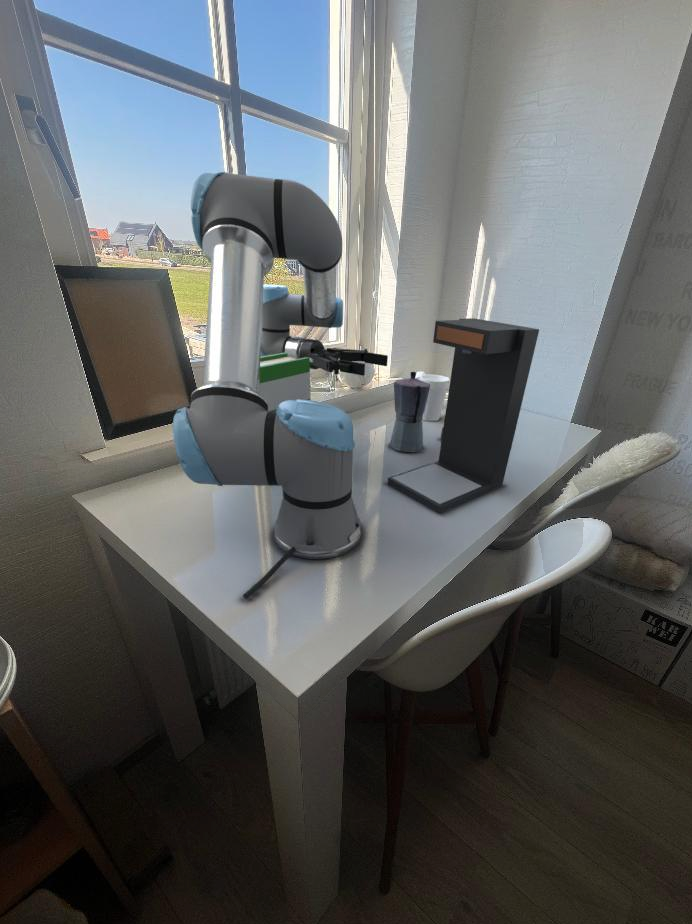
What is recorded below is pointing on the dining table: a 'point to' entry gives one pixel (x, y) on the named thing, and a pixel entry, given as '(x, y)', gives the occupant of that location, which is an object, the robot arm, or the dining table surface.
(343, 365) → the robot arm
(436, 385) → the foam cup
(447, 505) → the coffee maker
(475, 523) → the dining table surface
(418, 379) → the sitting furry creature
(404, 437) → the moka pot
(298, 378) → the hardback book
